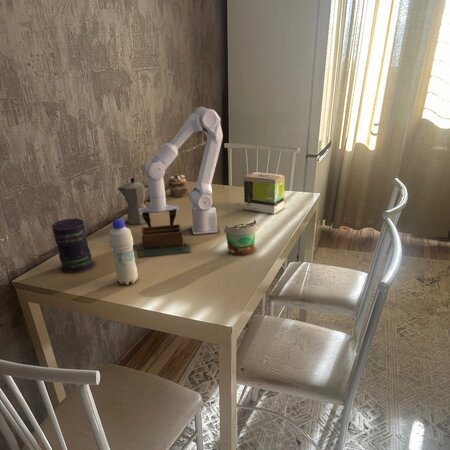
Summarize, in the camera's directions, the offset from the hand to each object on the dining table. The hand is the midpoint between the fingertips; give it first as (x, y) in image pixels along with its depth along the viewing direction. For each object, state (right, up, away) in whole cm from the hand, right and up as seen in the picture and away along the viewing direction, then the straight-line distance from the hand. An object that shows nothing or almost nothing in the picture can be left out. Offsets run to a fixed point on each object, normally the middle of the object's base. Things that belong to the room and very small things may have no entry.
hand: (161, 230), depth 156 cm
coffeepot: (-11, +7, +19) cm, 23 cm away
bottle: (-6, -21, -29) cm, 36 cm away
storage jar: (-25, -15, -18) cm, 34 cm away
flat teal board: (+2, -9, -10) cm, 13 cm away
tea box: (+41, +14, +27) cm, 51 cm away
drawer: (+2, -5, -9) cm, 11 cm away
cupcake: (+1, +26, +49) cm, 56 cm away
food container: (+31, -10, -13) cm, 35 cm away
